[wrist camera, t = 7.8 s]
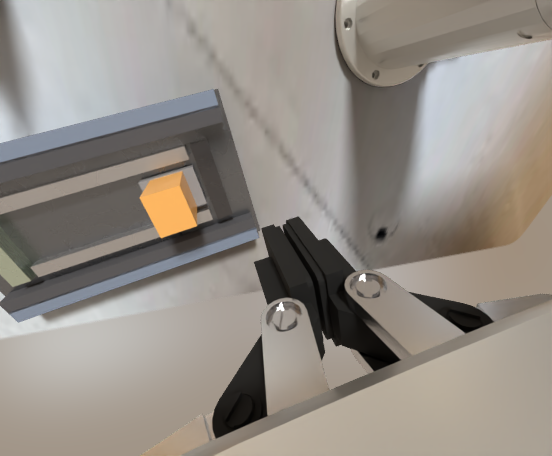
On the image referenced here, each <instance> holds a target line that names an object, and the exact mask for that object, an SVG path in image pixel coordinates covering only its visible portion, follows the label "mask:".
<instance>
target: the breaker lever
mask: <svg viewBox="0 0 552 456" xmlns="http://www.w3.org/2000/svg"><path fill="white" fill-rule="evenodd" d="M138 184H139V185H140V187H141V189H142V191H143V193H142V194H141V196H140V200H141V202H142V204H143V206H144V207H145V209H146V211H147V213H148V215H149V217H150V219H151V221H152V222H153V224H154V226H155V228H156V230H157V232H158V234H159V236H160V237H161V238H163V237H166V236H169V235H172V234H175V233H178V232H181V231H184V230H187V229H190V228H193V227H196V226H197V206H200V205H203V204H206V203H207V200H206V197H205V195H204V192H203V190H202V187H201V185H200V182H199V180H198V177H197V174H196V172H195V169H194V167H193V165H190V166H186V167H183V168H180V169H176V170H173V171H169V172H166V173H163V174H159V175H156V176H152V177H149V178H146V179H142V180H140V181H139V182H138Z"/></svg>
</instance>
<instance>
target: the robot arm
mask: <svg viewBox="0 0 552 456" xmlns="http://www.w3.org/2000/svg"><path fill="white" fill-rule="evenodd" d="M344 24H345V26H344ZM336 33H337V38H338V43H339V47H340V50H341V52H342V55H343V58H344V60H345V61H346V63H347V65H348V67H349V68H350V70H351V71H352V72H353V73H354V74H355V75H356V76H357V77H358V78H359V79H361V80H362V81H364V82H365V83H367V84H370V85H373V86H379V87H387V86H395V85H398V84H402V83H404V82H406V81H408V80H410V79H412V78H413V77H414V76H415V75H417V74H418V73H419V72H420V71H421V70H422V69H423V68H424V67H425V66H426V65H427V64H428V63H430V62H435V61H440V60H445V59H451V58H456V57H461V56H467V55H472V54H477V53H482V52H488V51H493V50H498V49H504V48H509V47H514V46H519V45H525V44H530V43H535V42H541V41H546V40H551V39H552V0H337V5H336ZM283 230H284V233H283V231H282V229H281V228H280V226H278V227H275V226H274V224H273V225H270V226H267V227H264V228H262V233H263V236H264V240H265V244H266V247H267V251H268V255H269V257H268V258H265V259H262V260H259V261H256V262H254V264H255V267H256V270H257V273H258V276H259V279H260V283H261V286H262V289H263V292H264V295H265V298H266V301H267V304H268V306H267V307H266V308H265V309H264V311H263V313H262V316H261V330H262V334H261V336H260V338H259V339H258V341H257V342H256V344H255V345H254V347H253V348H252V350H251V351H250V353H249V354H248V356H247V358H246V359H245V361H244V362H243V364H242V365H241V367H240V368H239V370H238V371H237V373H236V375H235V376H234V378H233V379H232V381H231V382H230V384H229V385H228V387H227V388H226V390H225V392H224V393H223V395H222V397H221V398H220V399H219V401H218V403H217V405H216V407H215V409H214V411H212V412H211V413H209V414H208V415H206V416H205V417H204V415H203V414H201V415H200V416H198V417H197V418H195V419H194V420H192V421H191V422H189V423H188V424H186V425H185V426H183V427H182V428H180V429H179V430H177V431H176V432H174V433H173V434H171V435H170V436H168V437H167V438H165V439H164V440H162V441H161V442H159V443H158V444H156V445H155V446H153V447H152V448H150V449H149V450H147V451H146V452H145V453H143V454H142V455H140V456H552V295H550V294H537V295H531V296H524V297H518V298H511V299H504V300H498V301H491V302H485V303H478V304H477V307H476V308H475V307H473V306H471V305H467V304H464V303H460V302H455V301H449V300H445V299H440V298H435V297H430V296H425V295H421V294H415V293H411V292H408V291H406V290H405V289H404V288H402V287H401V286H399V285H398V284H397V283H395V282H394V281H392V280H391V279H390V278H388V277H387V276H385V275H384V274H382V273H380V272H377V271H373V270H361V271H357V272H356V271H355V270H354V269H353V267H352V266H351V265H350V264H349V263H348V262H347V261H346V260H345V259H344V257H343V256H342V255H341V254H340V253H339V252H338V251H337V250H336V249H335V247H334V246H333V245H332V244H331V243H330V242H329V241H328V240H327V239H322V240H318V239H317V238H316V237H315V236H314V234H313V233H312V232H311V231H310V230H309V228H308V227H307V226H306V225H305V224H304V222H303V221H302V220H301V219H300V218H299V217H295V218H292V219H289V220H286V224H284V225H283ZM322 331H323V333H324V335H325V337H326V339H327V340H328V339H331V338H332V340H333V342H334V344H335V345H336V346H339V345H342V346H345V347H347V348H350V349H351V351H352V353H353V355H354V357H355V358H356V359H357V360H358V362H359V363H360V364H361V365H362V367H363V368H364V369H365V370H366V372H367V373H368V374H367V375H365V376H362V377H360V378H358V379H355V380H353V381H350V382H348V383H346V384H343V385H341V386H339V387H336V388H334V389H331V390H329V386H328V383H327V379H326V375H325V372H324V368H323V365H322V358H323V356H324V354H325V350H324V344H323V335H322Z"/></svg>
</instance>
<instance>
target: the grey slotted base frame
mask: <svg viewBox="0 0 552 456" xmlns="http://www.w3.org/2000/svg"><path fill="white" fill-rule="evenodd" d="M214 92H215V96H216V99H217V102H218V105H219V109H220V112H221V115H222V118H223V122H221V123H217V124H214V125H210V126H206V127H203V128H199V129H195V130H192V131H188V132H185V133H181V134H177V135H174V136H170V137H166V138H163V139H159V140H156V141H152V142H148V143H145V144H141V145H137V146H134V147H130V148H126V149H123V150H119V151H116V152H112V153H108V154H105V155H101V156H97V157H94V158H90V159H87V160H83V161H79V162H76V163H72V164H68V165H65V166H61V167H57V168H54V169H50V170H47V171H43V172H39V173H36V174H32V175H28V176H25V177H21V178H18V179H14V180H10V181H7V182H3V183H0V292H2V293H3V294H4V295H5V296H7V295H8V294H9V293H10V292H13V291H16V290H19V289H22V288H25V287H28V286H31V285H34V284H37V283H40V282H43V281H46V280H49V279H52V278H55V277H58V276H61V275H64V274H67V273H70V272H73V271H76V270H79V269H82V268H85V267H88V266H91V265H94V264H97V263H100V262H103V261H106V260H109V259H112V258H115V257H118V256H121V255H124V254H127V253H130V252H133V251H136V250H139V249H142V248H145V247H148V246H151V245H154V244H157V243H160V242H163V241H166V240H169V239H172V238H175V237H178V236H181V235H184V234H187V233H190V232H193V231H196V230H199V229H202V228H205V227H208V226H211V225H214V224H217V223H220V222H223V221H226V220H229V219H232V218H235V217H238V216H241V215H244V214H247V213H251V215H252V217H253V219H254V223H255V226H256V229H257V231H260V228H259V225H258V222H257V218H256V215H255V211H254V208H253V205H252V201H251V198H250V195H249V191H248V188H247V185H246V181H245V178H244V175H243V171H242V168H241V165H240V161H239V158H238V155H237V151H236V148H235V145H234V141H233V138H232V135H231V131H230V128H229V125H228V121H227V118H226V115H225V111H224V108H223V105H222V101H221V98H220V95H219V91H218V89H215V90H214ZM190 165H193V167H194V169H195V172H196V174H197V177H198V180H199V182H200V185H201V187H202V190H203V192H204V195H205V197H206V200H207V203H206V204H203V205H200V206H197V226H196V227H193V228H190V229H187V230H184V231H181V232H178V233H175V234H172V235H169V236H166V237H163V238H161V237H160V236H159V234H158V232H157V230H156V228H155V226H154V224H153V222H152V221H151V219H150V217H149V215H148V213H147V211H146V209H145V207H144V206H143V204H142V202H141V200H140V196H141V194H142V193H143V191H142V189H141V187H140V185H139V184H138V182H139V181H140V180H142V179H146V178H149V177H152V176H156V175H159V174H163V173H166V172H169V171H173V170H176V169H180V168H183V167H186V166H190Z"/></svg>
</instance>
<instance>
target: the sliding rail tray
mask: <svg viewBox="0 0 552 456" xmlns="http://www.w3.org/2000/svg"><path fill="white" fill-rule="evenodd" d="M221 122H223V118H222V115H221V112H220V109H219V105H218V102H217V99H216V96H215V92H214V89H212V90H208V91H204V92H200V93H196V94H192V95H188V96H185V97H181V98H177V99H173V100H169V101H165V102H161V103H157V104H153V105H149V106H145V107H141V108H137V109H133V110H130V111H126V112H122V113H118V114H114V115H110V116H106V117H102V118H98V119H94V120H90V121H86V122H82V123H78V124H75V125H71V126H67V127H63V128H59V129H55V130H51V131H47V132H43V133H39V134H35V135H31V136H27V137H23V138H20V139H16V140H12V141H8V142H4V143H0V183H3V182H7V181H10V180H14V179H18V178H21V177H25V176H28V175H32V174H36V173H39V172H43V171H47V170H50V169H54V168H57V167H61V166H65V165H68V164H72V163H76V162H79V161H83V160H87V159H90V158H94V157H97V156H101V155H105V154H108V153H112V152H116V151H119V150H123V149H126V148H130V147H134V146H137V145H141V144H145V143H148V142H152V141H156V140H159V139H163V138H166V137H170V136H174V135H177V134H181V133H185V132H188V131H192V130H195V129H199V128H203V127H206V126H210V125H214V124H217V123H221ZM257 238H259V236H258V233H257V229H256V226H255V223H254V219H253V217H252V215H251V213H247V214H244V215H241V216H238V217H235V218H232V219H229V220H226V221H223V222H220V223H217V224H214V225H211V226H208V227H205V228H202V229H199V230H196V231H193V232H190V233H187V234H184V235H181V236H178V237H175V238H172V239H169V240H166V241H163V242H160V243H157V244H154V245H151V246H148V247H145V248H142V249H139V250H136V251H133V252H130V253H127V254H124V255H121V256H118V257H115V258H112V259H109V260H106V261H103V262H100V263H97V264H94V265H91V266H88V267H85V268H82V269H79V270H76V271H73V272H70V273H67V274H64V275H61V276H58V277H55V278H52V279H49V280H46V281H43V282H40V283H37V284H34V285H31V286H28V287H25V288H22V289H19V290H16V291H13V292H10V293H9V294H8V295H7V296H6V297H5V298H4V299H3V300H2V301H1V302H0V306H1V307H2V308H3V309H4V310H5V311H7V312H8V313H9V314H10V315H11V316H12V317H13V318H14V319H15V320H16V321H17V322H21V321H24V320H27V319H30V318H33V317H35V316H38V315H41V314H44V313H47V312H50V311H53V310H55V309H58V308H61V307H64V306H67V305H70V304H72V303H75V302H78V301H81V300H84V299H87V298H90V297H92V296H95V295H98V294H101V293H104V292H107V291H109V290H112V289H115V288H118V287H121V286H124V285H126V284H129V283H132V282H135V281H138V280H141V279H144V278H146V277H149V276H152V275H155V274H158V273H161V272H163V271H166V270H169V269H172V268H175V267H178V266H181V265H183V264H186V263H189V262H192V261H195V260H198V259H200V258H203V257H206V256H209V255H212V254H215V253H217V252H220V251H223V250H226V249H229V248H232V247H235V246H237V245H240V244H243V243H246V242H249V241H252V240H254V239H257Z"/></svg>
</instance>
